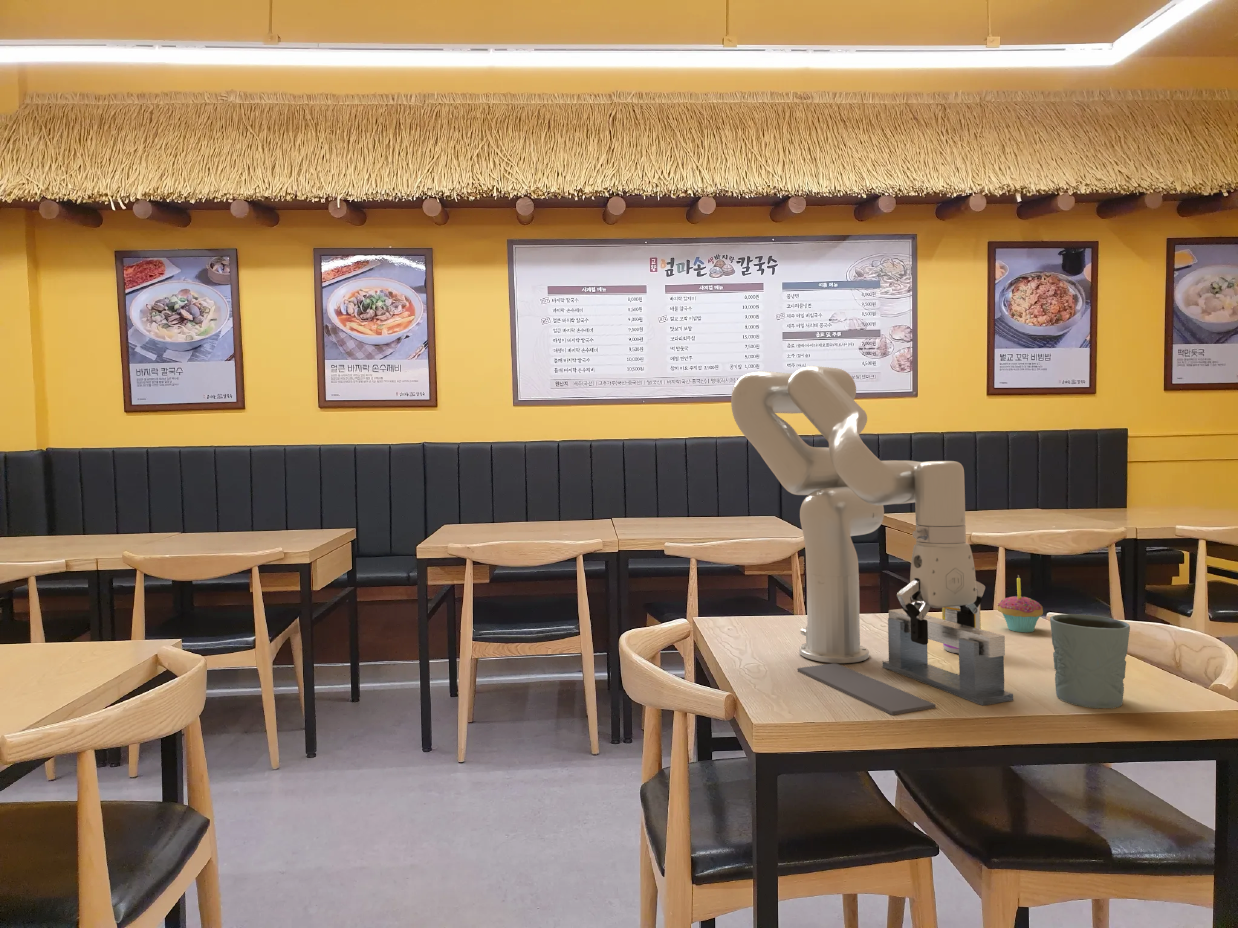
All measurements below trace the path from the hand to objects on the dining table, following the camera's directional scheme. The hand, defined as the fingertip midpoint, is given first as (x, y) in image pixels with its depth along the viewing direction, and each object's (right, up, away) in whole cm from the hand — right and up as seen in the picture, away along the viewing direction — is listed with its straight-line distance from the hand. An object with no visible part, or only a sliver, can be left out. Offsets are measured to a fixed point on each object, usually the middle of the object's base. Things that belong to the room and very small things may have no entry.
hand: (943, 639), depth 120 cm
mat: (-14, -7, -2) cm, 16 cm away
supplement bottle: (+12, -7, +19) cm, 24 cm away
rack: (0, -7, 0) cm, 7 cm away
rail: (0, 0, 0) cm, 0 cm away
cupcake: (+32, -7, +35) cm, 48 cm away
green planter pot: (+18, -7, -9) cm, 22 cm away
